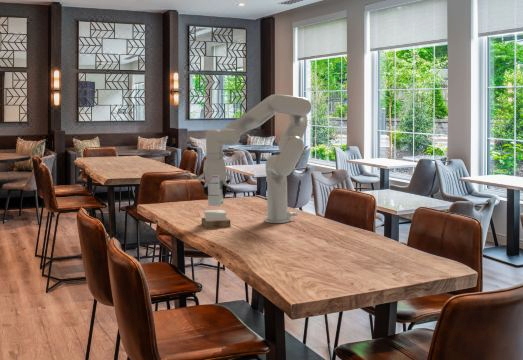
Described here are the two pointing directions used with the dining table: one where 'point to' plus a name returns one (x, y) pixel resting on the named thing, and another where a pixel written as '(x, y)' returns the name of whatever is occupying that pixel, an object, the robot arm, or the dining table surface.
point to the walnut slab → (216, 223)
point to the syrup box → (215, 191)
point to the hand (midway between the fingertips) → (215, 194)
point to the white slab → (215, 215)
